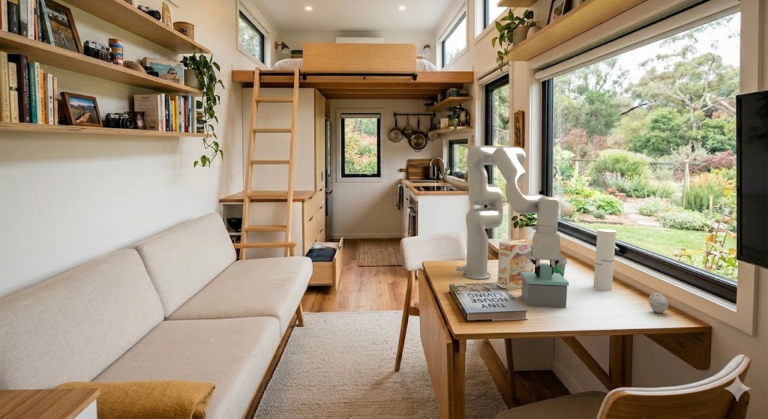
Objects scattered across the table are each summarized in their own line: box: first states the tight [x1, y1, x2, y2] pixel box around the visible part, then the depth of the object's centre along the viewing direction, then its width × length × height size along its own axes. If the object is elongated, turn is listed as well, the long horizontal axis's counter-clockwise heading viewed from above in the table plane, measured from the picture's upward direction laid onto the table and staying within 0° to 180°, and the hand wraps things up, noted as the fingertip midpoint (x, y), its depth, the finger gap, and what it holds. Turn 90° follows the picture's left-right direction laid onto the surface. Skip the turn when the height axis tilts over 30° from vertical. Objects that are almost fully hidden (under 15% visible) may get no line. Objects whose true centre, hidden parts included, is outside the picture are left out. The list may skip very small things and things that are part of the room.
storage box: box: [521, 278, 568, 308], centre depth 178 cm, size 14×12×8 cm
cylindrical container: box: [593, 228, 617, 292], centre depth 196 cm, size 7×7×25 cm
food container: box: [553, 256, 568, 278], centre depth 210 cm, size 12×6×10 cm, turn 168°
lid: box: [520, 262, 569, 287], centre depth 178 cm, size 15×13×7 cm
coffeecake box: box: [496, 238, 535, 291], centre depth 198 cm, size 15×7×20 cm, turn 122°
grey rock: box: [648, 292, 670, 314], centre depth 168 cm, size 6×7×7 cm
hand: (543, 275), depth 178 cm, fingers closed on lid, 4 cm apart
